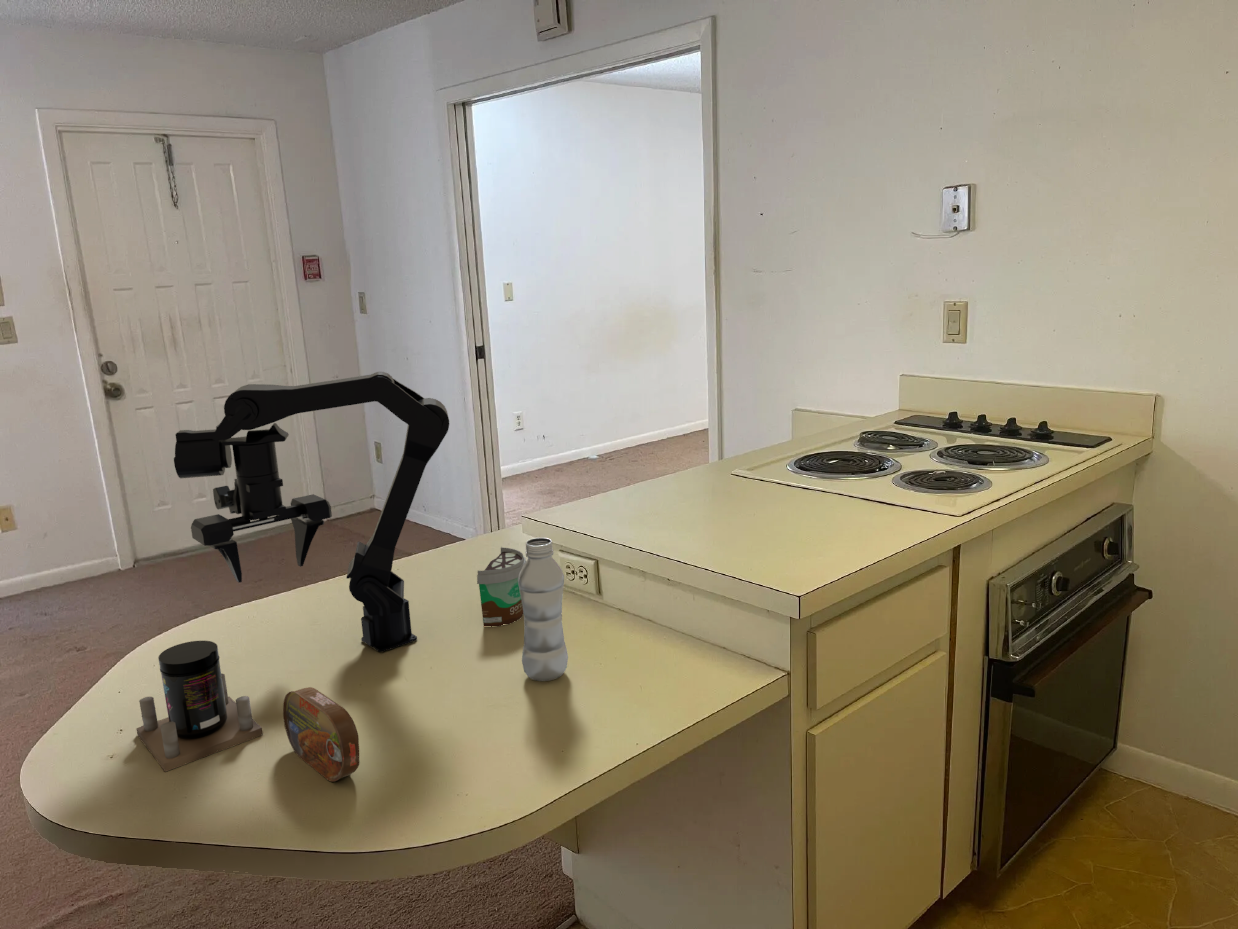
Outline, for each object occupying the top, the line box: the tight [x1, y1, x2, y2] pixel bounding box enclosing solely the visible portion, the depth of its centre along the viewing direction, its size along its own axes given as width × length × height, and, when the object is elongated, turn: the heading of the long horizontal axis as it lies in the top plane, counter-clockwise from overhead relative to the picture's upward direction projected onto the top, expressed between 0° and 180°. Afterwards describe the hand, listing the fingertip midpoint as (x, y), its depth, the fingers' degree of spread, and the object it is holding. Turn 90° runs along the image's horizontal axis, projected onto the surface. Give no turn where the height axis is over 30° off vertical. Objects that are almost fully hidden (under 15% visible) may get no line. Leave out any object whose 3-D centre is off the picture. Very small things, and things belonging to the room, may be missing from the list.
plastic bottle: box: [518, 537, 569, 682], centre depth 124 cm, size 6×7×20 cm
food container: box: [476, 546, 527, 628], centre depth 146 cm, size 12×6×10 cm, turn 168°
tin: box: [282, 686, 361, 782], centre depth 105 cm, size 15×3×8 cm, turn 45°
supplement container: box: [158, 640, 227, 739], centre depth 112 cm, size 7×7×10 cm
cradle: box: [135, 672, 264, 773], centre depth 113 cm, size 12×12×5 cm
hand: (270, 573), depth 133 cm, fingers open, 9 cm apart
